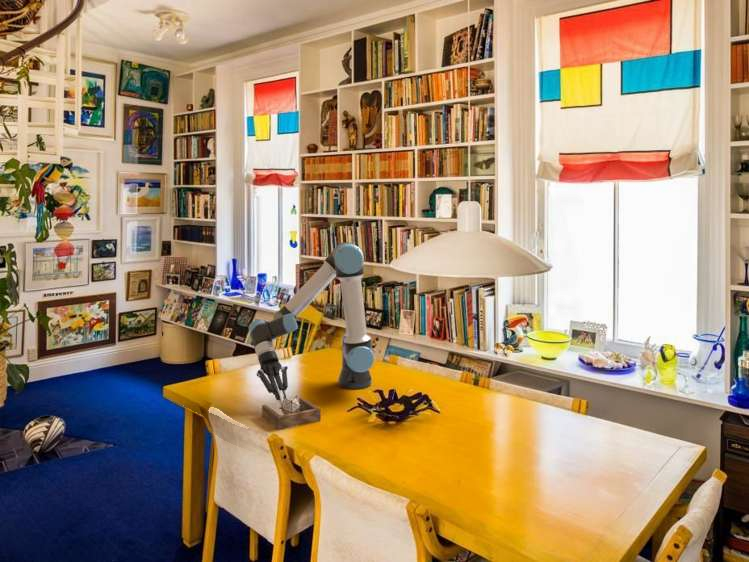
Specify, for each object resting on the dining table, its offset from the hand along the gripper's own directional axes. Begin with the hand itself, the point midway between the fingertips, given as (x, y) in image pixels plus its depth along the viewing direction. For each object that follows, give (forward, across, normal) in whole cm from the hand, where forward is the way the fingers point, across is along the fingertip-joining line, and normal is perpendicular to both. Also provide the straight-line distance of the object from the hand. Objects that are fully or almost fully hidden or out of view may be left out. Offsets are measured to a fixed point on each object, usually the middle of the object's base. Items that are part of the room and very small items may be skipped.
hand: (284, 406), depth 229 cm
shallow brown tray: (+6, 0, +2) cm, 6 cm away
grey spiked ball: (+5, -1, +1) cm, 5 cm away
